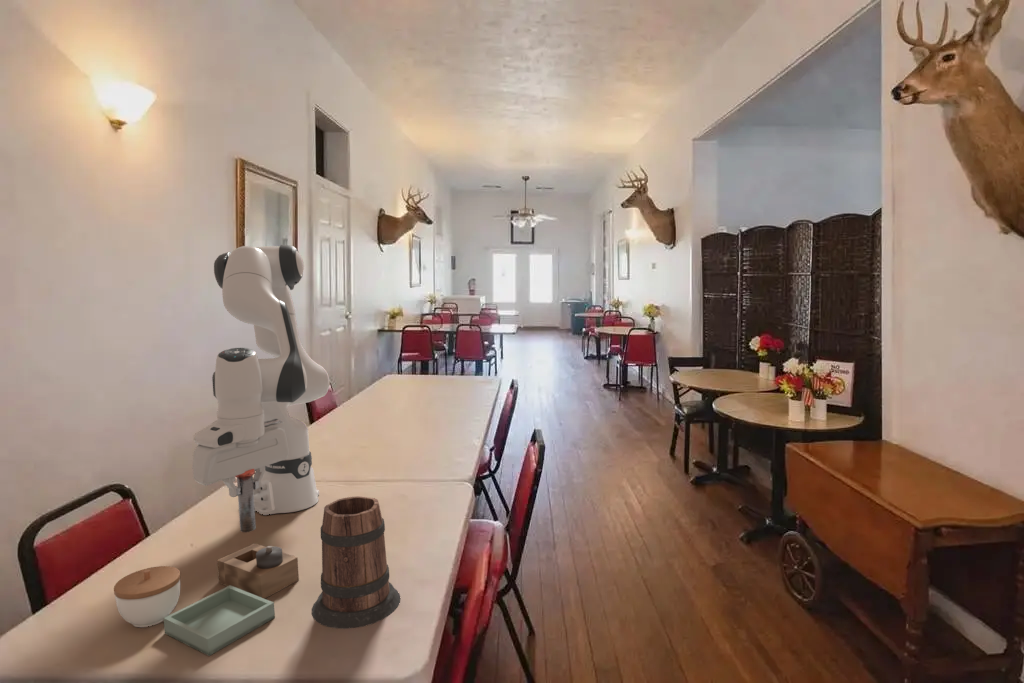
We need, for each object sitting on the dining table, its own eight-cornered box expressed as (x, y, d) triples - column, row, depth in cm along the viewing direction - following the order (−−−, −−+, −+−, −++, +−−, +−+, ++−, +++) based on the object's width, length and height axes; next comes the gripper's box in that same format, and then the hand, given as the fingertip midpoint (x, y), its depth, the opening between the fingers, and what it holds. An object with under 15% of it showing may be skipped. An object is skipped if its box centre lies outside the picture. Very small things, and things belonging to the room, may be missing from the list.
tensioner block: (218, 582, 128) (215, 544, 127) (256, 564, 136) (253, 528, 135) (262, 599, 121) (259, 559, 120) (298, 580, 128) (296, 541, 127)
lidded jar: (136, 604, 120) (132, 559, 119) (193, 601, 121) (189, 556, 120) (104, 637, 109) (99, 587, 108) (167, 632, 110) (162, 583, 109)
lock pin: (233, 530, 128) (229, 469, 126) (250, 523, 131) (246, 464, 130) (245, 534, 126) (241, 473, 124) (262, 527, 129) (258, 467, 128)
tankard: (409, 615, 114) (405, 512, 112) (315, 637, 108) (309, 529, 106) (384, 562, 136) (380, 475, 134) (304, 578, 129) (299, 486, 127)
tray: (164, 633, 110) (163, 617, 110) (231, 599, 121) (230, 585, 121) (209, 655, 103) (207, 639, 103) (274, 617, 114) (273, 602, 114)
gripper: (273, 414, 136) (277, 474, 138) (185, 437, 119) (190, 505, 121) (293, 418, 133) (296, 479, 135) (204, 442, 116) (209, 511, 117)
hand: (245, 491), depth 128 cm, fingers closed on lock pin, 3 cm apart
